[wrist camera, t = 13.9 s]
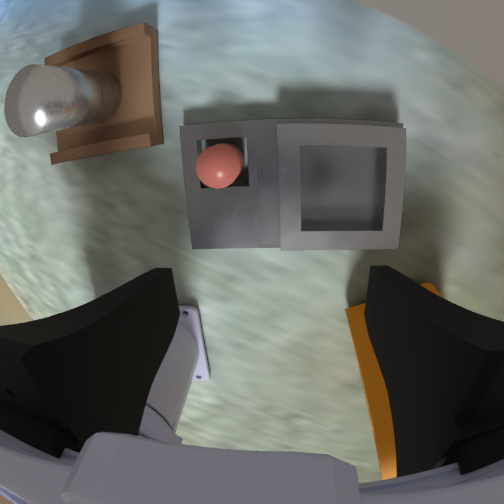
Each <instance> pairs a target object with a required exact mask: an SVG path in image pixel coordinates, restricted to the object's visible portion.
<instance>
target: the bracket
mask: <svg viewBox="0 0 504 504" xmlns="http://www.w3.org/2000/svg"><path fill="white" fill-rule="evenodd" d="M419 285H421V286H423V287H424V288H426V289H428V290H429V291H431V292H433V293H435V294H436V295H438V296H440V297H442V296H441V295H440V293H439V292H438V291H437V289H436V288H435V287H434V286H433V284H431V283H422V284H419ZM442 298H443V297H442ZM364 310H365V303H363V304H360V305H357V306H353V307H350V308H347V309H345V311H346V315H347V319H348V323H349V327H350V332H351V336H352V340H353V344H354V348H355V353H356V357H357V361H358V366H359V370H360V375H361V379H362V383H363V388H364V393H365V398H366V402H367V407H368V412H369V416H370V421H371V425H372V430H373V435H374V440H375V445H376V450H377V455H378V460H379V466H380V471H381V477H382V480H386V479H389V478H393V477H396V476H397V469H396V451H395V439H394V430H393V423H392V415H391V409H390V404H389V398H388V393H387V389H386V385H385V382H384V379H383V376H382V373H381V370H380V367H379V364H378V361H377V359H376V356H375V353H374V350H373V347H372V344H371V342H370V339H369V336H368V331H367V327H366V322H365V317H364Z"/></svg>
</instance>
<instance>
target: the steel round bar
mask: <svg viewBox="0 0 504 504" xmlns="http://www.w3.org/2000/svg"><path fill="white" fill-rule="evenodd" d="M121 96H122V94H121V87H120V84H119V82H118V80H117V79H116V78H115V77H114V76H113V75H111V74H109V73H106V72H100V71H93V70H86V69H78V68H69V67H59V66H48V65H29V66H26V67H24V68H23V69H21V70H20V71H19V72H18V73H17V74H16V75H15V77H14V78H13V80H12V81H11V83H10V85H9V88H8V90H7V94H6V98H5V117H6V121H7V124H8V126H9V128H10V129H11V131H12V132H13V133H14V134H15V135H17V136H20V137H29V136H33V135H38V134H43V133H48V132H53V131H59V130H64V129H70V128H76V127H83V126H89V125H97V124H102V123H104V122H106V121H108V120H109V119H111V118H112V117H113V116H114V114H115V113H116V112H117V110H118V108H119V105H120V102H121Z"/></svg>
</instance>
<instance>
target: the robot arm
mask: <svg viewBox="0 0 504 504" xmlns="http://www.w3.org/2000/svg"><path fill="white" fill-rule="evenodd" d="M183 311H186V312H188V314H186V313H184V312H183ZM364 317H365V322H366V327H367V331H368V336H369V339H370V342H371V344H372V347H373V350H374V353H375V356H376V359H377V361H378V364H379V367H380V370H381V373H382V376H383V379H384V382H385V385H386V389H387V393H388V398H389V404H390V409H391V415H392V423H393V430H394V439H395V451H396V469H397V478H391V479H386V480H380V481H373V482H366V483H359V484H358V477H357V470H356V467H355V466H353V465H351V464H349V463H347V462H344V461H342V460H339V459H337V458H335V457H332V456H330V455H328V454H315V453H303V452H293V451H247V450H231V449H219V448H209V447H200V446H192V445H185V444H181V443H182V440H183V439H182V438H181V437H180V436H178V435H176V434H175V432H176V429H177V426H178V423H179V419H180V416H181V413H182V410H183V407H184V404H185V401H186V398H187V394H188V391H189V388H190V385H191V382H192V380H199V381H208V380H209V379H210V371H209V366H208V361H207V356H206V350H205V345H204V340H203V334H202V329H201V323H200V317H199V311H198V309H197V308H196V307H194V306H179V305H178V300H177V295H176V290H175V285H174V279H173V274H172V268H155V269H152V270H150V271H148V272H146V273H144V274H142V275H140V276H138V277H136V278H134V279H133V280H131V281H129V282H127V283H125V284H124V285H122V286H120V287H118V288H116V289H114V290H112V291H111V292H109V293H107V294H105V295H103V296H101V297H99V298H97V299H95V300H93V301H91V302H88V303H86V304H84V305H81V306H79V307H76V308H74V309H71V310H69V311H65V312H62V313H59V314H56V315H53V316H50V317H46V318H43V319H39V320H35V321H30V322H25V323H19V324H12V325H4V326H0V495H2V496H3V497H5V498H6V499H7V500H9V501H10V502H12V503H13V504H504V322H503V321H499V320H496V319H492V318H489V317H486V316H483V315H480V314H477V313H475V312H472V311H470V310H467V309H465V308H463V307H460V306H458V305H456V304H454V303H452V302H450V301H448V300H446V299H444V298H442V297H440V296H438V295H436V294H435V293H433V292H431V291H429V290H428V289H426V288H424V287H423V286H421V285H419V284H418V283H416V282H414V281H413V280H411V279H410V278H408V277H406V276H405V275H403V274H402V273H400V272H398V271H396V270H395V269H393V268H391V267H389V266H370V274H369V282H368V289H367V297H366V303H365V310H364ZM198 375H200V376H198Z"/></svg>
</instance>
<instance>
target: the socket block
mask: <svg viewBox="0 0 504 504" xmlns="http://www.w3.org/2000/svg"><path fill="white" fill-rule="evenodd" d="M179 127H180V140H181V151H182V162H183V172H184V182H185V192H186V201H187V209H188V218H189V226H190V234H191V242H192V249H215V248H281V251H291V250H367V249H398V246H399V238H400V229H401V220H402V209H403V197H404V182H405V161H406V128H403V123H394V122H382V121H368V120H349V119H260V120H241V121H227V122H214V123H204V124H194V125H185V126H179ZM235 137H247V155H248V172H249V183H241V184H230V185H229V186H227V187H224V188H219V189H216V188H211V187H208V186H207V185H204V183H203V182H202V181H201V180H200V179H199V177H198V175H197V172H196V161H197V158H198V156H199V155H200V153H201V152H202V151H201V140H208V139H220V138H235Z"/></svg>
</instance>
